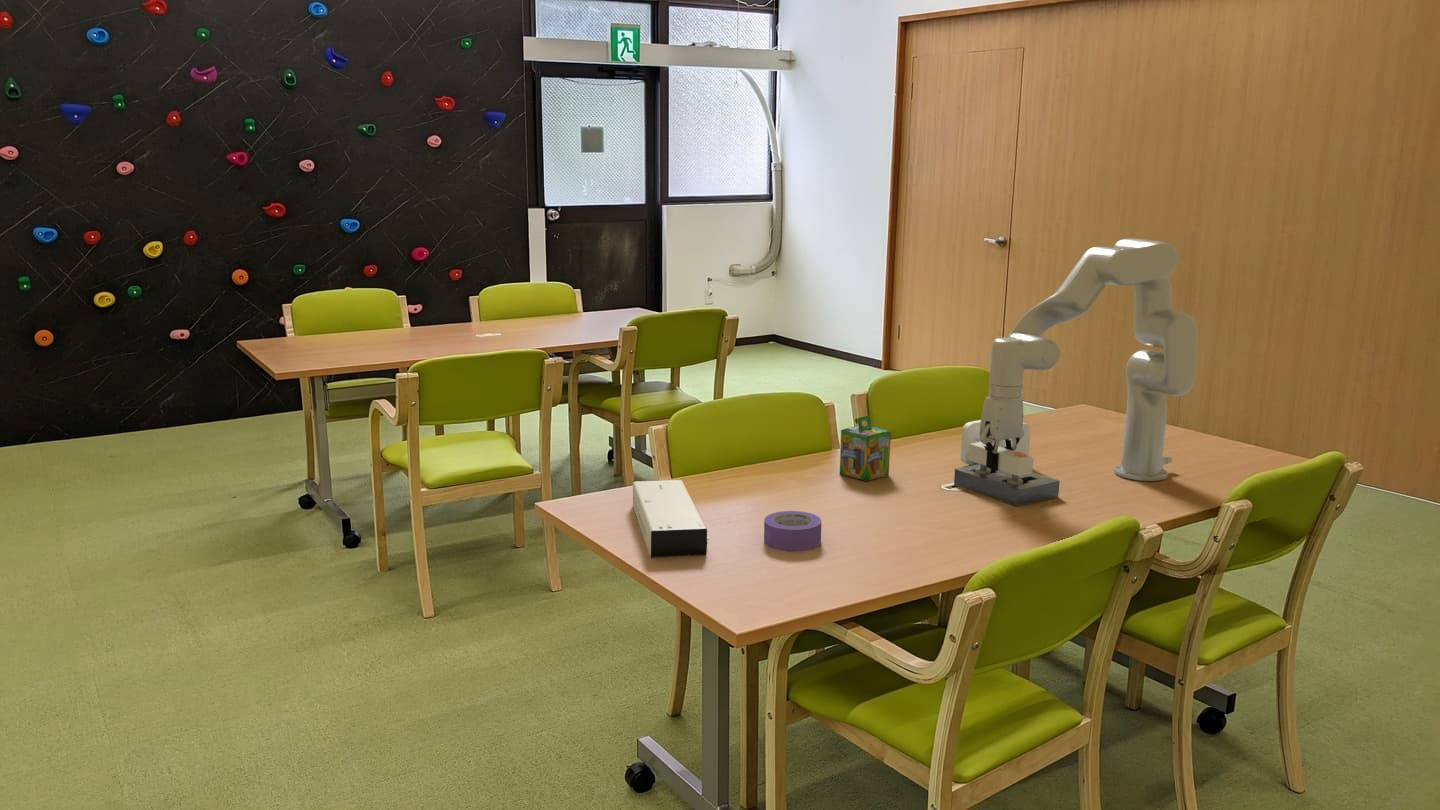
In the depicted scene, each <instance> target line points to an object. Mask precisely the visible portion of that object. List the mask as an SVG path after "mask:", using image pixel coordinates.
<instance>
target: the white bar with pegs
mask: <svg viewBox="0 0 1440 810" xmlns="http://www.w3.org/2000/svg"><path fill="white" fill-rule="evenodd" d="M997 453H999V458H998V470H1001V471H1004V472H1007V473H1010V474H1012V478H1008V479H1007V483H1009V484H1012V485H1015V486H1017V485H1022V484H1023V480H1022V479H1019V476H1022V475H1027V474H1032V472H1033V465H1034V456H1031V455H1030V454H1029V455H1027V454H1024V453H1021V452H1015V451H1012V450H1009V449H1005V448H1002V447H999V446H998V450H997ZM986 459H987V451H986V450H985V447H984V446H983V445H982V444H981V443H980V442H977V443H971V444H969V455H968V460H970V461H973V462H976V463H979V464H980V468H976V470H975V472H976V473H979V474H982V475H987V474H991V470H990V469H988V468H987V467H986Z"/></svg>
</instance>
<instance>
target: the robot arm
mask: <svg viewBox="0 0 1440 810" xmlns="http://www.w3.org/2000/svg"><path fill="white" fill-rule="evenodd" d="M1179 261H1180V259H1179V253H1178V250H1177V249H1176V247H1175V246H1174V245H1173V244H1171V243H1168V242H1165V241H1160V240H1159V241H1158V240H1152V239H1145V238H1144V239H1143V238H1134V237H1129V238H1128V237H1127V238H1122V239H1120V240H1118V241H1117V242H1116V243H1114V245H1113V247H1111V246H1110V247H1109V246H1099V245H1098V246H1094V247H1090V248H1089V249H1087V251H1085V252H1084V253H1083V254H1082V256H1081V257H1080V259H1079V260H1078V261H1077V262H1076V263H1075V265H1074V267H1073V268H1072V270H1071V271H1070V272H1069V274H1068V275H1067V277H1066V278H1065V279H1064V280H1063V282H1062V283H1061V284H1060V286H1059V287H1058V289H1057V290H1056V292H1054V293H1053V294H1052V295H1051V296H1049V297H1047V298H1046V299H1044V300H1042V301H1040V303H1038V304H1037V305H1035V306H1033V307H1032V308H1030V309H1029V310H1028V311H1027V312H1026V313H1024V314H1023V315H1022V316H1021V318H1019V320H1018V321H1017V323H1016V324H1015V326H1013V328H1012V329H1011V331H1010V333H1009V334H1008V336H1007V337H998V338H995V339H994V340H993V341H992V344H991V353H990V354H991V355H990V367H989V382H988V392H987V393H988V394H987V395H988V396H985V398H984V399H985V400H984V402H983V407H982V412H981V417H980V420H981V424H980V438H979V440H978V441H979V442H980V443H981V444H982V445H983V446H984V447H985V450H986V451H987V459H986V467H988V468H991V469H994V470H997V469H998V458H999V453H997V450H998V446H999V442H1000V440H1004V446H1005V449H1009V450H1012V451H1014V450H1016V448H1017V446H1016V445H1017V444H1018V443H1019V441H1020V439H1021V438H1022V437H1023V436H1024V434H1025V433H1024V431H1023V423H1024V401H1023V396H1022V394H1023V390H1024V389H1023V388H1024V387H1023V385H1024V384H1023V383H1024V370H1034V371H1046V370H1050V369H1052V368H1053V367H1055V366H1056V365H1057V364H1058V362H1059V361H1060V358H1061V350H1060V347H1059V346H1058V344H1057V343H1056V342H1054V341H1053V340H1051V339H1048V338H1045V337H1041V336H1042V335H1043V334H1044V333H1045V332H1046V331H1048V330H1049V329H1050V328H1053V327H1054V326H1056V325H1059V324H1062V323H1064V322H1068V321H1072V320H1075V319H1078V318H1080V317H1083V316H1085V315H1086V314H1087V313H1088V311H1089V310H1090V308H1091V307H1092V306H1093V305H1094V303H1095V301H1096V300H1098V298H1099V296H1100V295H1101V293H1102V292H1103V291H1104V289H1105V288H1106V287H1107V285H1111V286H1117V287H1129V286H1130V287H1131V286H1132V287H1133V292H1134V298H1133V299H1134V308H1133V309H1134V310H1133V334H1134V335H1133V336H1134V337H1135V338H1134V339H1136V341H1138V343H1140V344H1143V345H1145V346H1150V347H1153V348H1158V349H1161V350H1163V351H1158V350H1153V349H1140V350H1137V351H1136V352H1134V353H1132V355H1131V356H1129V359H1128V360H1127V363H1126V366H1125V379H1126V384H1127V385H1126V387H1127V397H1126V398H1127V400H1126V413H1125V419H1124V420H1125V421H1124V423H1125V424H1124V431H1123V432H1124V434H1123V441H1122V442H1123V443H1122V452H1121V453H1122V454H1121V463H1120V464H1117V465H1115V466H1114V467H1113V468H1114V469H1113V472H1114V474H1116V475H1117V476H1119V477H1121V478H1125V479H1129V480H1135V481H1140V482H1143V481H1144V482H1156V481H1157V482H1159V481H1163V480H1166V479H1168V475H1169V474H1168V471H1167V470H1165V469H1164V466H1165V465H1169V464H1171V463H1172V461H1173V458H1172V457H1171V456H1170V455H1166V456H1164V446H1165V439H1166V438H1165V436H1166V426H1167V418H1168V408H1169V407H1168V400H1167V397H1166V395H1167V396H1172V397H1181V396H1185V395H1187V394H1188V393H1190V391H1191V390H1192V389H1193V388H1194V386H1195V383H1196V382H1197V381H1196V380H1197V376H1198V363H1199V361H1198V360H1199V342H1200V341H1199V340H1200V338H1199V337H1200V335H1199V333H1200V332H1199V327H1198V323H1197V322H1196V320H1195V319H1194V318H1193V317H1192V316H1191V315H1190V314H1189V313H1186V312H1183V311H1180V310H1179V311H1178V310H1174V309H1173V302H1172V301H1173V299H1172V298H1173V296H1172V293H1173V292H1172V291H1173V289H1172V283H1171V279H1170V277H1169V276H1171V275H1172V274H1173V273H1174V272H1175V270H1176V269H1177V267H1178V265H1179ZM992 442H994V445H992Z"/></svg>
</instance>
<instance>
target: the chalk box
mask: <svg viewBox="0 0 1440 810" xmlns="http://www.w3.org/2000/svg"><path fill="white" fill-rule="evenodd" d="M863 421H864V422H866V424H867V425H865V424H863ZM871 422H872V421H871V416H870V415H869V414H868V415H864V416H859V417H857V425H856V426H852V427H848V428H843V429H841V430H840V451H839V453H840V457H839V475H841V476H846V477H850V478H854V479H858V480H862V481H865V482H868V481H872V480H875V479H879V478H883V477H884V478H885V477H888V476H889V475H890V474H889V472H890V452H891V436H892V432H891V431H890V430H887V429H882V428H879V427H876V426H872V423H871Z"/></svg>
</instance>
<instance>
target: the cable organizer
mask: <svg viewBox="0 0 1440 810" xmlns="http://www.w3.org/2000/svg"><path fill="white" fill-rule="evenodd" d="M980 424H981V419H979V420H973V421H968V422H966V423H965V424H964V425H963V426H962V429H961V431H962V433H961V445H960V446H961V447H960V449H961V450H960V461H961V463H962V464H965V465H968V466H973V465H978V464H979V463H976V462H973V461H970V460H968V455H969V444H971V443H977V442H979V441H978V440H979V438H980ZM1023 431H1024V433H1025V434H1024V436H1023V437H1022V438H1021V439H1020V441H1019V443H1018V444H1017V445H1016V446H1017V448H1016V450H1014V451H1015V452H1021V453H1024V454H1027V455H1029V456H1030V446H1031V445H1030V443H1031V431H1032V427H1031V424H1029V423H1027V422H1023ZM992 445H994V442H992ZM999 447H1002V448H1005V446H1004V440H1000V442H999Z"/></svg>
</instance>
